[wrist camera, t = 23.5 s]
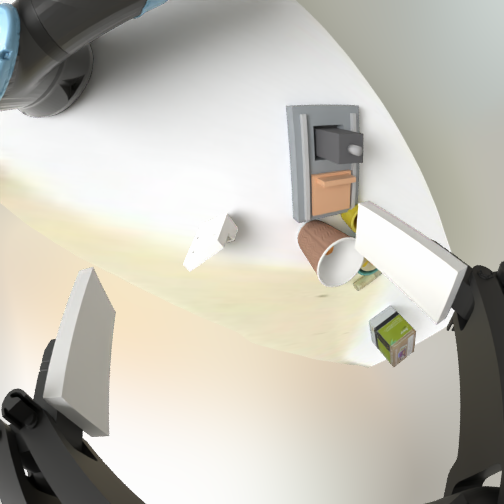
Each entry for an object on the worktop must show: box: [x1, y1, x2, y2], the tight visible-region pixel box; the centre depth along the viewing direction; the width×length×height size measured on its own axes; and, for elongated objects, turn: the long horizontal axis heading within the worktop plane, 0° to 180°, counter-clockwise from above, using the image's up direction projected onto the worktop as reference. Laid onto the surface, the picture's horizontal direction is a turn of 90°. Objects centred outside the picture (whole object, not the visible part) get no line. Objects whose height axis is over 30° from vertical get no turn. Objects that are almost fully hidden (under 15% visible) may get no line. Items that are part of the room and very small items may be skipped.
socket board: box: [286, 105, 359, 223], centre depth 48 cm, size 22×14×3 cm, turn 6°
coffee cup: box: [297, 220, 364, 287], centre depth 51 cm, size 10×10×12 cm
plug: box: [313, 127, 363, 164], centre depth 42 cm, size 5×5×11 cm
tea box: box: [369, 306, 416, 367], centre depth 79 cm, size 15×10×15 cm, turn 26°
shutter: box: [311, 169, 356, 216], centre depth 48 cm, size 8×8×3 cm
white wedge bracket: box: [183, 213, 238, 271], centre depth 46 cm, size 4×10×9 cm, turn 120°
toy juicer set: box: [325, 204, 382, 291], centre depth 61 cm, size 29×18×8 cm, turn 49°
